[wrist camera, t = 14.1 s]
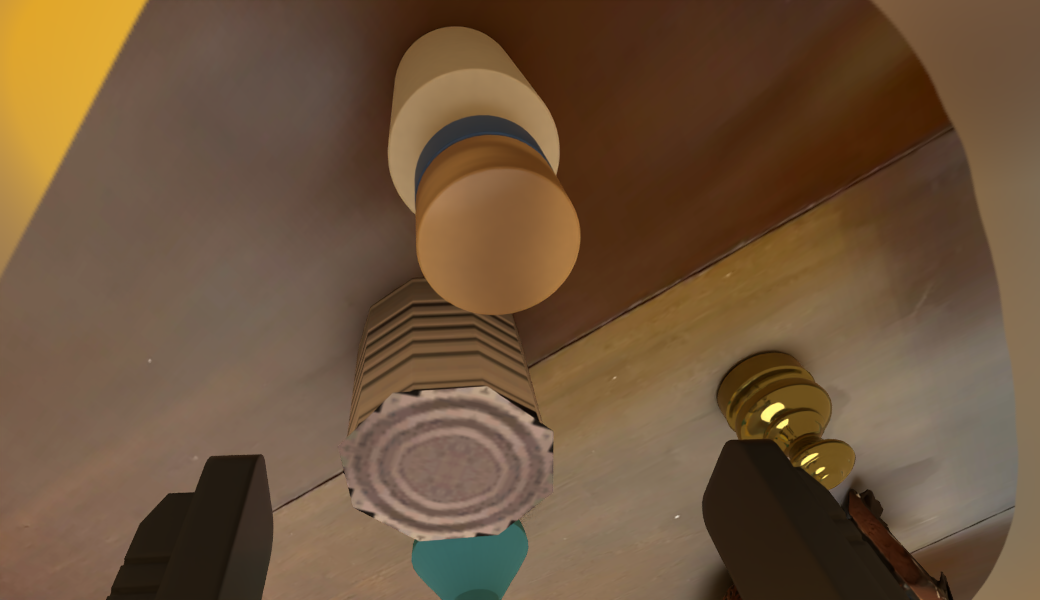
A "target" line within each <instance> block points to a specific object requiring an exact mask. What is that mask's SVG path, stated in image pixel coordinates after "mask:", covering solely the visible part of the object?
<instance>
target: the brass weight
mask: <svg viewBox="0 0 1040 600" xmlns="http://www.w3.org/2000/svg"><path fill="white" fill-rule="evenodd" d="M718 406H719V408H720V410H721V412H722V413H723V415H724V416H725V418H726V420H727V422H728V424H729V426H730V427H731V429H732V430H733V431H735V432H736V435H737V437H738V439H739V440H743V439H771V440H773V441H774V442H775V443H777V444H778V446H779V447H780V448H781V450H782V451H783V452H784V454H785V455H786V456H787V457H789V458H790V462H791V463H792V465H793V466H794V467H801V468H802V469H804V470H805V471H806V472H807V473H809V474H810V475H811V476H812V477H813V478H815V479H816V480H817V481H818V482H820V483H821V484H822V485H823V486H824V487H826V488H827V489H828V490H829V489H832V488H834V487H836V486H837V485H838V484H840V483H841V482H842V481H843V480H844V479H845V478H846V477H847V476H848V475H849V473H850V472H851V470H852V469H853V467H854V464H855V459H856V456H855V453H854V451H853V449H852V448H851V446H850V445H849V444H847V443H846V442H844V441H841V440H837V439H825V440H824V439H822V438H821V437H822V435H823V433H824V430H825V429H826V427H827V425H828V423H829V421H830V418H831V414H832V403H831V399H830V397H829V395H828V393H827V392H826V391H825V390H824V389H823V388H822V387H821V386H820V385H818V384H817V383H815V380H814V378H813V376H812V375H811V374H810V373H809V372H808V371H806V370H805V369H804V368H803V366H802V365H801V364H800V363H799V362H798V361H797V360H796V359H795V358H794V357H792V356H790V355H787V354H784V353H777V352H773V353H764V354H760V355H757V356H754V357H752V358H749V359H747V360H745V361H744V362H742V363H741V364H739V365H738V366H736V367H735V368H734V369H733V370H732V371H731V372H730V373H729V374H728V375H727V376H726V378H725V379H724V381H723V382H722V384H721V386H720V389H719V392H718Z"/></svg>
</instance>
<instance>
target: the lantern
mask: <svg viewBox="0 0 1040 600" xmlns="http://www.w3.org/2000/svg"><path fill="white" fill-rule="evenodd" d="M849 496H850V500H849V513H850V515H851V516H852V518H851V521H852V523H853V524H854V525H855V527H856V528H857V529H858V531H859V532H860V533H861V535H862V540H863V541H867V542H868V544H869V545H870V546H871V548H872V549H873V550H874V552H875V553H876V554H877V556H878V557H879V558H880V560H881V561H882V562H883V564H884V565H885V566H886V568H887V569H888V570H889V572H890V573H891V574H892V576H893V577H894V578H895V580H896V581H897V582H898V584H899V585H900V586H901V588H902V589H903V590H904V592H905V593H906V594H907V596H908V597H909V598H910V600H953V597H952V594H951V591H950V588H949V585H948V582H947V579H946V576H945V575H944V574H943V572H941V577H940V581H937V580H936V579H935V578H933V577H931V576H930V575H929V574H928V573H927V572H926V571H925V570H924V569H923V567H922V566H921V565H920V564H919V563H918V562H917V561H916V560H915V559H914V558H913V556H912V555H911V554H910V553H909V552H908V551H907V550H906V549H905V548H904V547H903V545H902V544H901V543H900V542H899V541H898V540H897V539H896V538H895V537H894V536H893V534H892V533H891V532H890V531H889V528H888V527H887V524H886V523H885V522H884V521H883V520H882V519H881V518H880V516H881V514H882V511H883V508H882V506H881V504H880V502H879V501H877V500H876V499H875V497H874V494H873V492H872V491H870V490H868V489H867V490H866V491H865V492H863V493H860V494H858V493H857V492H856V491H855V490H854V489H851V490H850V492H849ZM723 600H742V598H741V596H740V594H739V592H738V590H737V588H736V586H735V584H733V585H732V586H731V587H730V588H729V589H728V590H727V592H726V594H725V596H724V598H723Z"/></svg>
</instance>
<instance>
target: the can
mask: <svg viewBox="0 0 1040 600" xmlns="http://www.w3.org/2000/svg"><path fill="white" fill-rule="evenodd" d="M338 449H339V453H340V457H341V461H342V465H343V473H344V474H345V477H346V481H347V485H348V489H349V493H350V496H351V500H352V504H353V508H355V509H357V510H359V511H361V512H363V513H365V514H367V515H369V516H371V517H373V518H375V519H377V520H379V521H381V522H383V523H384V524H386V525H388V526H390V527H392V528H394V529H396V530H398V531H400V532H402V533H404V534H406V535H408V536H410V537H412V538H414V539H416V540H418V541H429V540H442V539H455V538H468V537H480V536H493V535H499V534H500V533H501V532H503V531H504V530H505V529H507V528H508V527H509V526H510V525H512V524H513V523H514V522H516V521H517V520H518V519H519V518H521V517H522V516H523V515H525V514H526V513H527V512H529V511H530V510H531V509H532V508H534V507H535V506H536V505H538V504H539V503H540V502H541V501H543V500H544V499H545V498H547V497H548V496H549V495H550V494H552V493H553V431H552V430H551V429H549V428H548V427H546V426H545V425H543V423H542V419H541V415H540V412H539V408H538V404H537V400H536V396H535V393H534V389H533V385H532V381H531V378H530V374H529V370H528V366H527V362H526V359H525V355H524V351H523V347H522V343H521V340H520V337H519V334H518V331H517V328H516V325H515V322H514V319H513V316H512V313H511V314H504V315H483V314H477V313H472V312H469V311H466V310H463V309H461V308H458V307H456V306H454V305H453V304H451V303H449V302H448V301H446V300H445V299H444V298H442V297H441V296H440V295H439V294H437V292H436V291H435V290H434V289H433V288H432V287H431V286H430V284H429V283H428V282H427V280H426V279H425V278H415V279H411V280H410V281H408V282H407V283H405V284H404V285H402V286H401V287H399V288H398V289H396V290H395V291H394V292H392V293H391V294H389V295H388V296H386V297H385V298H383V299H382V300H380V301H379V302H377V303H376V304H374V305H373V306H371V307H370V311H369V314H368V318H367V321H366V324H365V328H364V331H363V334H362V338H361V341H360V345H359V348H358V356H357V364H356V372H355V380H354V388H353V396H352V404H351V411H350V419H349V427H348V435H347V438H346V439H345V440H344V441H343V442H342V443H341V444H340V445H339V446H338Z"/></svg>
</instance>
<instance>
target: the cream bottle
mask: <svg viewBox="0 0 1040 600" xmlns="http://www.w3.org/2000/svg"><path fill="white" fill-rule="evenodd" d="M481 135H500V136H507V137H510V138H514V139H517V140H519V141H521V142H524V143H526V144H527V145H529V146H530V147H532V148H533V149H535V150H536V151H537V152H538V153H540V154H541V155H542V157H543V158H544V159H545V160H546V161H547V162H548V164H549V165H550V167H551V168H552V170H553V172H554V173H555V175H556V174H557V169H558V165H559V155H560V149H559V138H558V133H557V129H556V126H555V123H554V120H553V118H552V116H551V114H550V112H549V110H548V108H547V107H546V105H545V104H544V102H543V101H542V100H541V98H540V97H539V96H538V94H537V93H536V92H535V90H534V89H533V88H532V86H531V85H530V84H529V82H528V81H527V80H526V78H525V77H524V76H523V74H522V73H521V72H520V70H519V69H518V68H517V67H516V65H515V64H514V63H513V61H512V60H511V59H510V57H509V56H508V55H507V53H506V52H505V51H504V50H503V48H502V47H501V46H500V45H499V44H498V43H497V42H495V41H494V40H493V39H492V38H490V37H489V36H487V35H486V34H484V33H482V32H480V31H477V30H474V29H471V28H466V27H456V26H452V27H444V28H440V29H436V30H434V31H431V32H429V33H427V34H425V35H424V36H422V37H420V38H419V39H418V40H417V41H415V42H414V43H413V44H412V45H411V47H410V48H409V49H408V50H407V51H406V53H405V54H404V56H403V58H402V60H401V62H400V64H399V66H398V69H397V72H396V77H395V84H394V94H393V103H392V113H391V123H390V132H389V142H388V164H389V169H390V174H391V177H392V180H393V183H394V186H395V188H396V190H397V191H398V193H399V195H400V197H401V198H402V200H403V201H404V203H405V204H406V205H407V206H408V207H409V208H410V210H411V211H412V212H413V213H414V214H416V206H415V203H416V194H417V190H418V186H419V183H420V180H421V178H422V176H423V174H424V172H425V171H426V169H427V167H428V166H429V165H430V163H431V162H432V161H433V160H434V159H435V158H436V157H437V156H438V155H439V154H440V153H441V152H442V151H444V150H445V149H447V148H448V147H450V146H451V145H453V144H455V143H457V142H459V141H462V140H464V139H467V138H471V137H475V136H481Z"/></svg>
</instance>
